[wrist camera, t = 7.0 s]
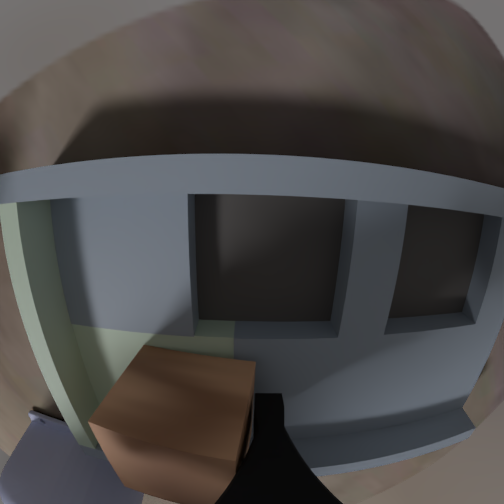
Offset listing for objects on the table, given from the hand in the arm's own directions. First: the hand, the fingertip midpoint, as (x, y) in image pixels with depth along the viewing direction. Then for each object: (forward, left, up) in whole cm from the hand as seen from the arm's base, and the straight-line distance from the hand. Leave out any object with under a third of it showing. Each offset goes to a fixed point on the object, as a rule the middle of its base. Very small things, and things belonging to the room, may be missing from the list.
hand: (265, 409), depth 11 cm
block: (-3, 0, -1) cm, 3 cm away
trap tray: (+2, +2, -3) cm, 4 cm away
